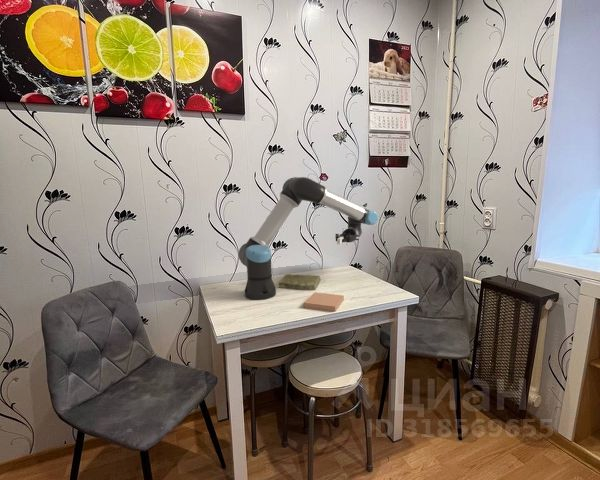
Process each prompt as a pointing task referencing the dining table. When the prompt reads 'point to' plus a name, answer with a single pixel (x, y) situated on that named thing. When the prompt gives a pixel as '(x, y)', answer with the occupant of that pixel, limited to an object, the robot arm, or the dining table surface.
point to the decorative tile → (299, 282)
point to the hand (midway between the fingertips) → (338, 241)
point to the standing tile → (324, 301)
